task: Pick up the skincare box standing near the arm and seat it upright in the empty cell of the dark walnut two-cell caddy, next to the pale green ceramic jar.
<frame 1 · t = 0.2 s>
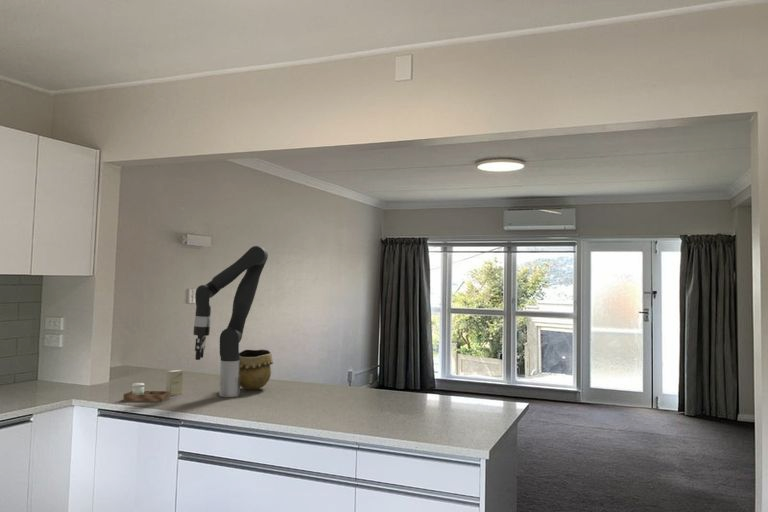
hand: (199, 358, 282), 18 cm above the counter, tool pointing down, fingers open, 8 cm apart
caddy: (147, 400, 266), on the counter
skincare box: (173, 396, 278), on the counter
clay pot: (251, 389, 299), on the counter
jar: (137, 399, 266), point 1 cm above the counter, touching caddy
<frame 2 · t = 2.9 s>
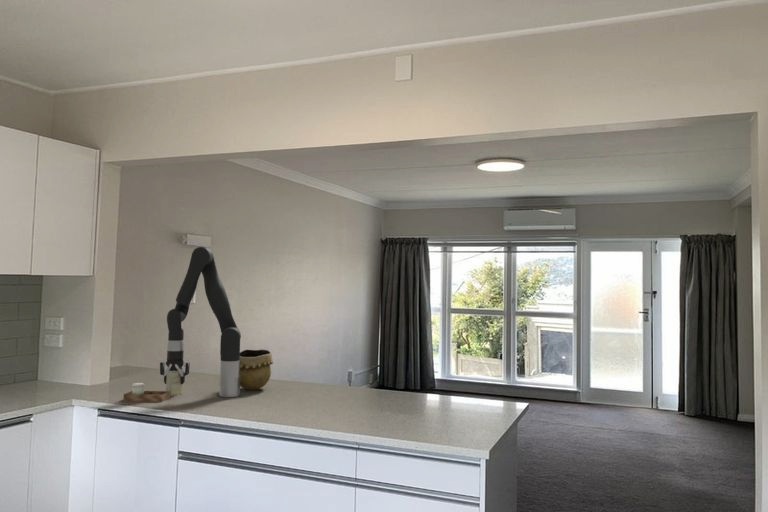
hand: (174, 383, 278), 6 cm above the counter, tool pointing down, fingers closed on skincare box, 7 cm apart
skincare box: (173, 396, 278), on the counter, touching gripper
everything else where it was.
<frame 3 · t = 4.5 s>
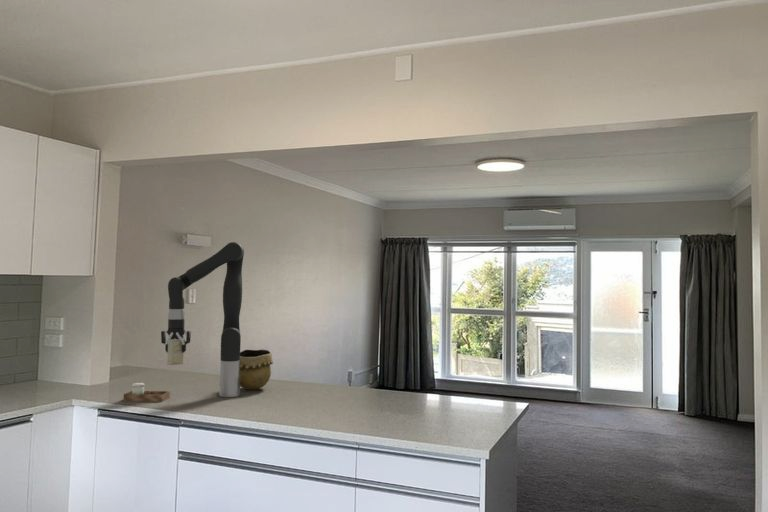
hand: (175, 352, 279), 21 cm above the counter, tool pointing down, fingers closed on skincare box, 7 cm apart
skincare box: (175, 364, 279), point 15 cm above the counter, touching gripper
everything else where it was.
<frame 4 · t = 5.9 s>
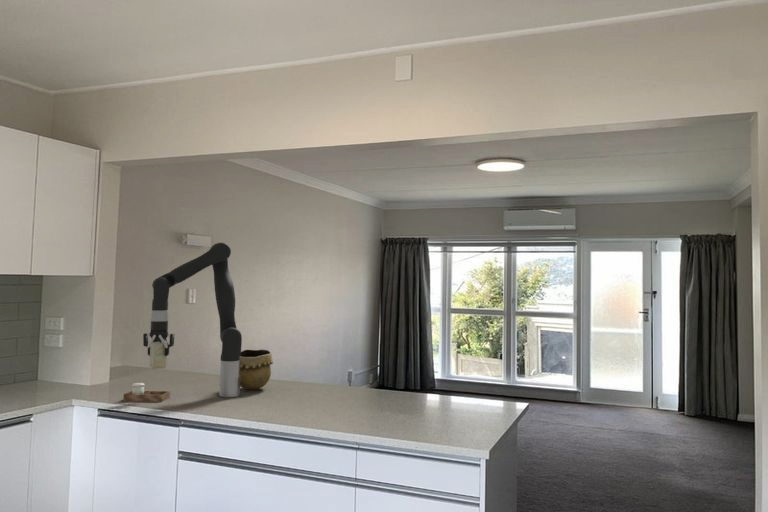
hand: (158, 355, 267), 21 cm above the counter, tool pointing down, fingers closed on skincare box, 7 cm apart
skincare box: (157, 368, 267), point 15 cm above the counter, touching gripper
everything else where it was.
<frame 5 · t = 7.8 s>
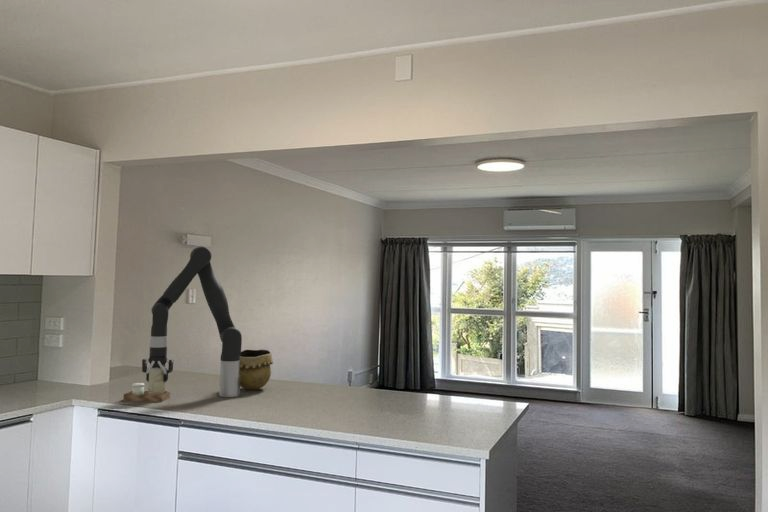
hand: (157, 381, 267), 9 cm above the counter, tool pointing down, fingers closed on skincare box, 7 cm apart
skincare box: (156, 394, 266), point 3 cm above the counter, touching gripper
everything else where it was.
when the fingers open (8 cm above the counter, at t = 9.2 s): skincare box drops 1 cm, resting on caddy.
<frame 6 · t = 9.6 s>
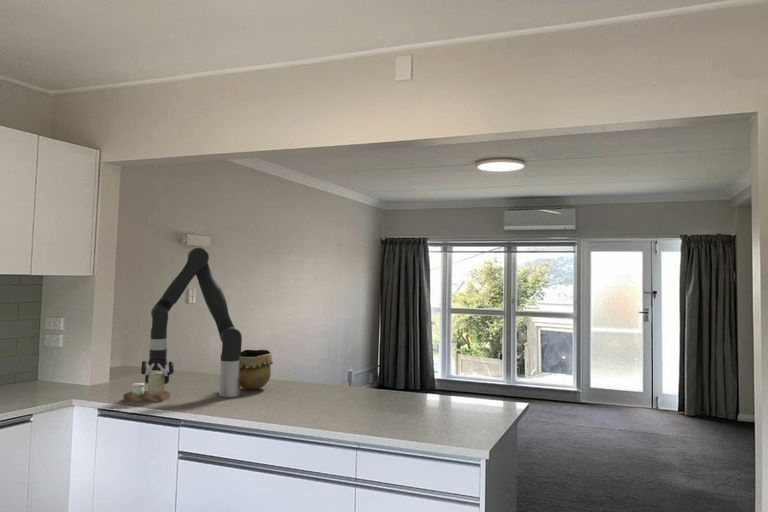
hand: (156, 383, 266), 8 cm above the counter, tool pointing down, fingers open, 8 cm apart
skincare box: (156, 399, 266), resting on caddy
everything else where it was.
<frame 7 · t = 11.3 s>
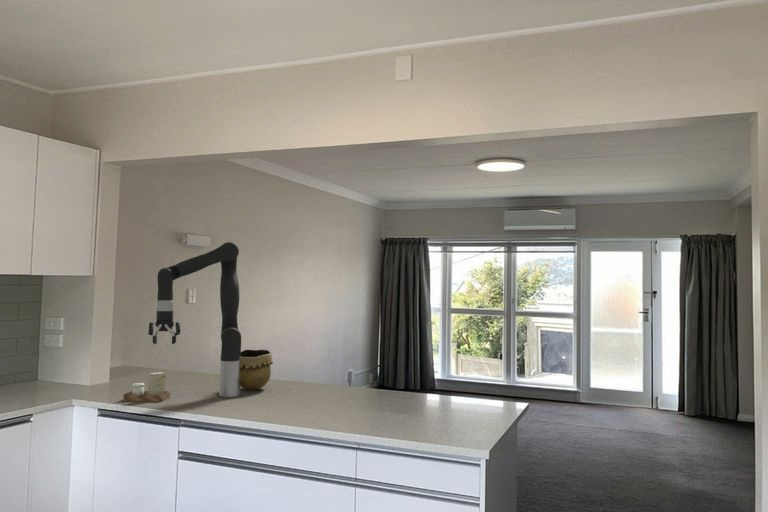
hand: (164, 344, 273), 26 cm above the counter, tool pointing down, fingers open, 8 cm apart
nothing on the counter moved.
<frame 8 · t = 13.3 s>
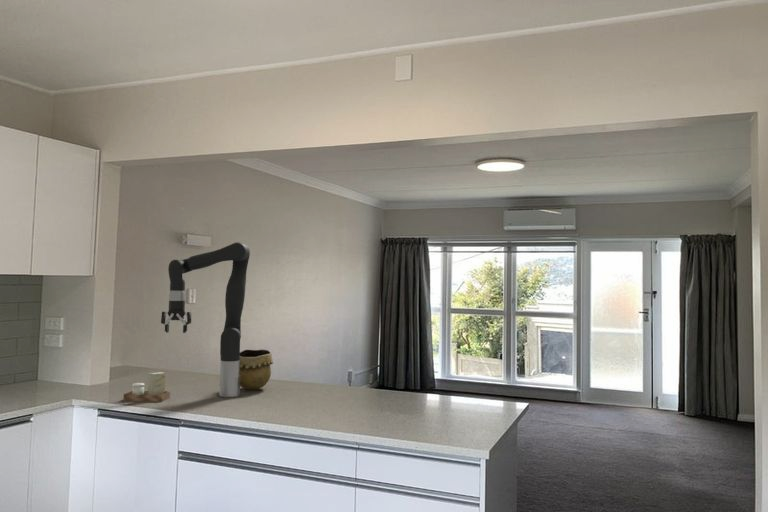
hand: (175, 332, 285), 30 cm above the counter, tool pointing down, fingers open, 8 cm apart
nothing on the counter moved.
at the end: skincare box inside the target area on the caddy (0.1 cm from its centre), point 0.4 cm above the caddy's base; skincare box tilted 0°; jar moved 0.0 cm from its start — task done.
